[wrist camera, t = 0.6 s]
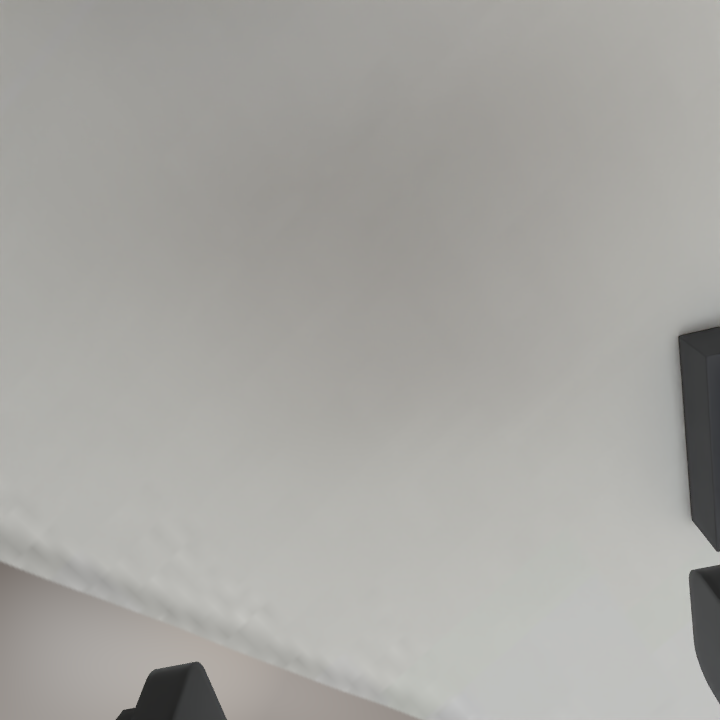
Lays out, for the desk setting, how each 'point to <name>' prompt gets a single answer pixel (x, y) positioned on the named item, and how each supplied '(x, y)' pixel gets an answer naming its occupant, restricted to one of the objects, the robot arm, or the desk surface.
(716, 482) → the dark raised-panel slab
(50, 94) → the desk surface
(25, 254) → the desk surface
